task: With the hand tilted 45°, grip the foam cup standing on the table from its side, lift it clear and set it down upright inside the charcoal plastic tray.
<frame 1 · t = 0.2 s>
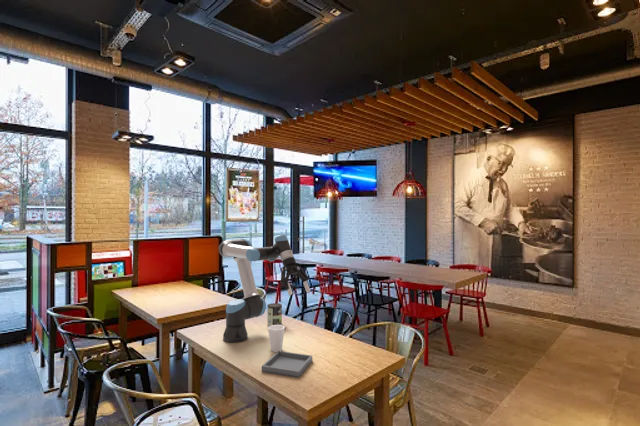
hand: (300, 293, 195), 35 cm above the table, tool tilted 35°, fingers open, 13 cm apart
foam cup: (276, 349, 203), on the table
tray: (287, 366, 181), on the table
coffee can: (274, 325, 247), on the table
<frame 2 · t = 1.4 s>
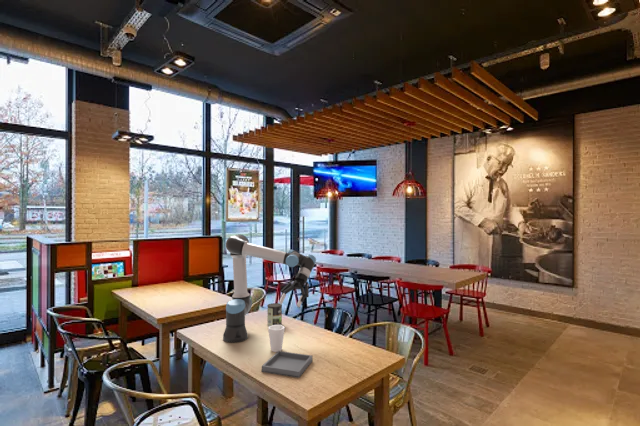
hand: (289, 304, 213), 24 cm above the table, tool tilted 45°, fingers open, 13 cm apart
nothing on the table moved.
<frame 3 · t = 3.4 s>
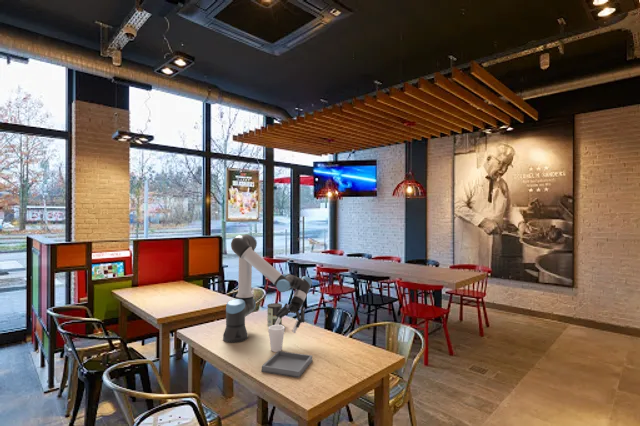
hand: (284, 330, 206), 10 cm above the table, tool tilted 45°, fingers open, 13 cm apart
nothing on the table moved.
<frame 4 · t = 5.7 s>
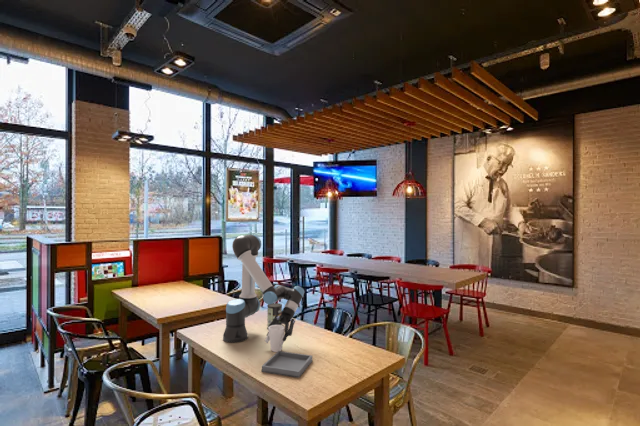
hand: (272, 343, 200), 4 cm above the table, tool tilted 45°, fingers closed on foam cup, 9 cm apart
foam cup: (276, 349, 203), on the table, touching gripper
everything else where it was.
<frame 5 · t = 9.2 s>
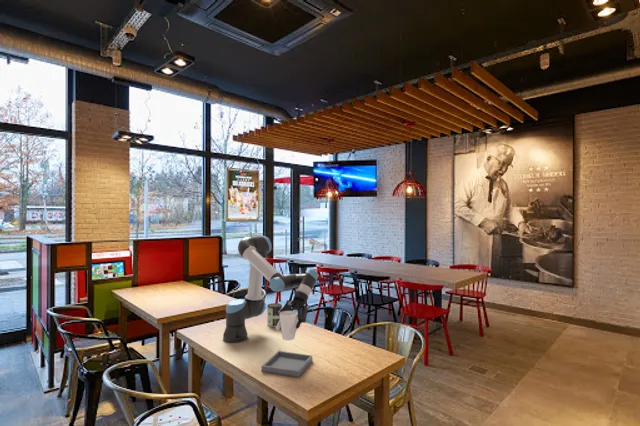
hand: (284, 331, 178), 19 cm above the table, tool tilted 45°, fingers closed on foam cup, 9 cm apart
foam cup: (288, 338, 181), point 14 cm above the table, touching gripper
everything else where it was.
when the fingers open (7 cm above the table, at t = 12.6 s): foam cup drops 1 cm, resting on tray.
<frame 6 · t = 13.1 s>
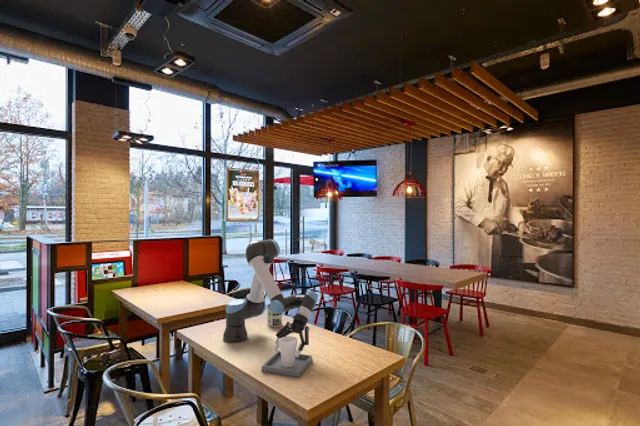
hand: (285, 353, 179), 7 cm above the table, tool tilted 45°, fingers open, 13 cm apart
foam cup: (288, 364, 181), point 1 cm above the table, touching tray
everything else where it was.
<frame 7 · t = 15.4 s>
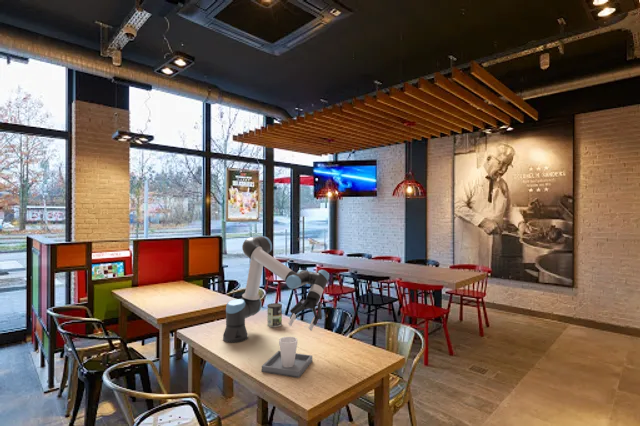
hand: (299, 327, 190), 17 cm above the table, tool tilted 45°, fingers open, 13 cm apart
nothing on the table moved.
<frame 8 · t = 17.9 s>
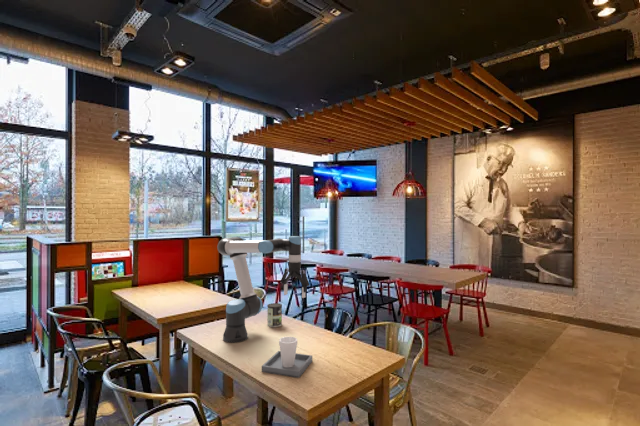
hand: (294, 296, 213), 29 cm above the table, tool pointing down, fingers open, 13 cm apart
nothing on the table moved.
at the end: foam cup inside the target area on the tray (0.1 cm from its centre), point 0.6 cm above the tray's base; foam cup tilted 0°; the gripper is holding nothing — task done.
